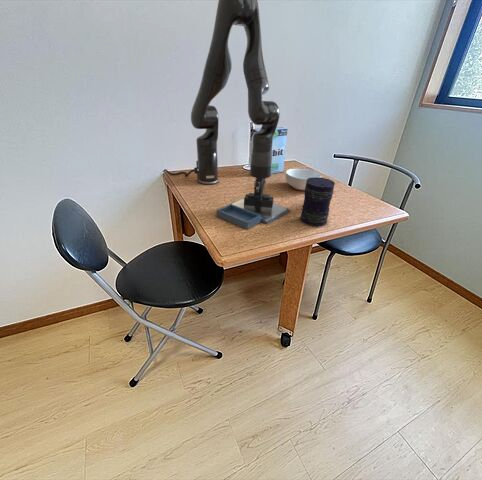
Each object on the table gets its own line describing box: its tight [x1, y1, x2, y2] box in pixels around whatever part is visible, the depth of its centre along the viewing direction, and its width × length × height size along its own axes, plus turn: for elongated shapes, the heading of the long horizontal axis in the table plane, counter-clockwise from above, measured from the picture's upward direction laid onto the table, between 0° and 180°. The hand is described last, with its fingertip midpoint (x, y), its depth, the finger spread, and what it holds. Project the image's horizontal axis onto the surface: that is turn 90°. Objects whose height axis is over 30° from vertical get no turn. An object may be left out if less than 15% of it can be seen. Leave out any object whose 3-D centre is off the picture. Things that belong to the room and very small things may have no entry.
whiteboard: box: [225, 197, 290, 225], centre depth 107 cm, size 20×15×1 cm
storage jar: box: [300, 177, 336, 228], centre depth 98 cm, size 10×10×15 cm
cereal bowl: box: [285, 168, 322, 191], centre depth 130 cm, size 17×17×7 cm
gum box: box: [249, 126, 289, 175], centre depth 143 cm, size 19×5×23 cm, turn 123°
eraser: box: [243, 192, 275, 210], centre depth 106 cm, size 11×5×5 cm, turn 82°
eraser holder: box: [216, 203, 262, 230], centre depth 99 cm, size 15×8×3 cm, turn 52°
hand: (258, 206), depth 107 cm, fingers closed on eraser, 4 cm apart
